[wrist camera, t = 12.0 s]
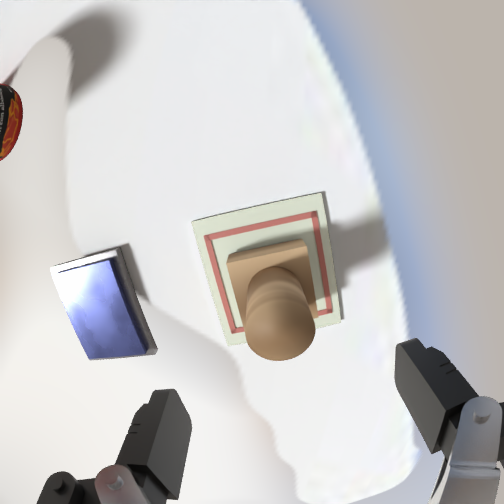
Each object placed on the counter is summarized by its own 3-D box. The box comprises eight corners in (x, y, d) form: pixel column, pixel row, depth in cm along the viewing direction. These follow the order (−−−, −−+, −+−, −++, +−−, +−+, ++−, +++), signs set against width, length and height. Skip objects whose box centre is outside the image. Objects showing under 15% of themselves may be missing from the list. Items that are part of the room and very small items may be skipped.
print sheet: (192, 221, 21) (190, 222, 20) (320, 192, 20) (321, 193, 20) (228, 344, 23) (227, 346, 23) (340, 320, 23) (341, 323, 22)
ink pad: (55, 265, 22) (46, 270, 20) (120, 247, 21) (112, 252, 20) (93, 355, 24) (87, 363, 23) (157, 349, 24) (153, 358, 22)
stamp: (229, 252, 21) (216, 297, 14) (300, 236, 21) (324, 274, 13) (245, 315, 22) (242, 379, 15) (312, 301, 22) (335, 361, 15)
